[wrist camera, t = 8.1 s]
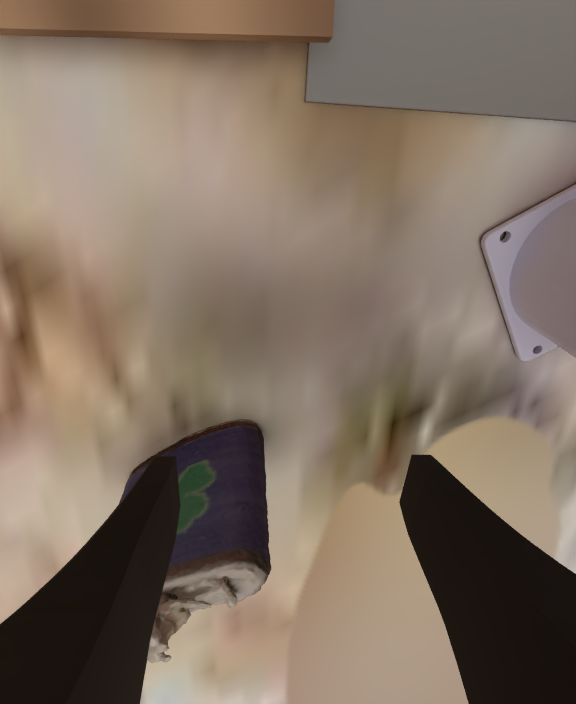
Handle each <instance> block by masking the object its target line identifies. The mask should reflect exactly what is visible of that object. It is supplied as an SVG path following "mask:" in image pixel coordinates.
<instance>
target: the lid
mask: <svg viewBox="0 0 576 704" xmlns="http://www.w3.org/2000/svg"><path fill="white" fill-rule="evenodd" d="M334 5H335V0H0V35H22V36H63V37H104V38H145V39H186V40H227V41H268V42H309V43H329V42H330V40H331V39H332V37H333V27H334Z"/></svg>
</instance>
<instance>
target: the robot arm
mask: <svg viewBox="0 0 576 704" xmlns="http://www.w3.org/2000/svg"><path fill="white" fill-rule="evenodd" d="M505 231H506V236H505V238H504V239H503V240H500V235H501V234H502V233H503V232H505ZM481 247H482V250H483V253H484V256H485V259H486V262H487V265H488V268H489V272H490V275H491V278H492V281H493V284H494V287H495V290H496V294H497V297H498V300H499V303H500V306H501V309H502V312H503V315H504V319H505V322H506V325H507V328H508V331H509V334H510V337H511V341H512V344H513V347H514V350H515V353H516V356H517V357H518V358H519V359H520V360H522V361H530V360H532V359H534V358H536V357H538V356H541V355H543V354H545V353H547V352H549V351H551V350H553V349H555V348H557V347H561V348H562V349H564V350H565V351H567V352H568V353H570V354H571V355H573V356H574V357H576V184H575V185H573V186H571V187H570V188H568V189H566V190H564V191H562V192H560V193H558V194H557V195H555V196H553V197H551V198H549V199H547V200H546V201H544V202H542V203H540V204H538V205H536V206H534V207H533V208H531V209H529V210H527V211H525V212H523V213H522V214H520V215H518V216H516V217H514V218H512V219H510V220H509V221H507V222H505V223H503V224H501V225H499V226H498V227H496V228H494V229H492V230H490V231H488V232H487V233H486V234H485V235H484V236H483V238H482V240H481ZM536 346H538V347H537V348H536V349H535V350H533V349H534V347H536ZM400 506H401V510H402V514H403V518H404V521H405V525H406V528H407V532H408V535H409V537H410V540H411V542H412V545H413V547H414V550H415V552H416V555H417V557H418V560H419V562H420V564H421V567H422V569H423V572H424V574H425V576H426V579H427V581H428V584H429V586H430V588H431V591H432V593H433V595H434V598H435V600H436V602H437V605H438V607H439V610H440V613H441V615H442V618H443V621H444V624H445V626H446V630H447V633H448V636H449V639H450V642H451V646H452V649H453V652H454V655H455V658H456V661H457V665H458V668H459V672H460V675H461V678H462V682H463V685H464V689H465V692H466V696H467V699H468V703H469V704H576V574H575V573H573V572H572V571H570V570H569V569H567V568H566V567H565V566H563V565H562V564H560V563H559V562H557V561H556V560H554V559H553V558H552V557H550V556H549V555H548V554H546V553H545V552H543V551H542V550H541V549H539V548H538V547H537V546H535V545H534V544H532V543H531V542H530V541H529V540H527V539H526V538H525V537H523V536H522V535H521V534H519V533H518V532H517V531H516V530H514V529H513V528H512V527H511V526H509V525H508V524H507V523H506V522H505V521H504V520H502V519H501V518H500V517H499V516H498V515H496V514H495V513H494V512H493V511H492V510H491V509H489V508H488V507H487V506H486V505H485V504H484V503H482V502H481V501H480V500H479V499H478V498H477V497H476V496H475V495H474V494H473V493H471V492H470V491H469V490H468V489H467V488H466V487H465V486H464V485H463V484H462V483H461V482H460V481H459V480H457V479H456V478H455V477H454V476H453V475H452V474H451V473H450V472H449V471H448V470H447V469H446V468H445V467H443V466H442V465H441V464H440V463H439V462H438V461H437V460H436V459H435V458H434V457H433V456H431V455H412V456H411V460H410V464H409V468H408V471H407V475H406V479H405V483H404V487H403V490H402V494H401V498H400ZM179 513H180V494H179V483H178V472H177V460H176V456H155V457H154V458H153V459H151V461H150V462H149V464H148V465H147V467H146V468H145V470H144V471H143V473H142V474H141V476H140V477H139V479H138V480H137V481H136V483H135V484H134V485H133V487H132V488H131V489H130V491H129V492H128V494H127V495H126V496H125V497H124V499H123V500H122V501H121V502H120V504H119V505H118V506H117V508H116V509H115V510H114V511H113V513H112V514H111V515H110V516H109V518H108V519H107V520H106V521H105V522H104V523H103V525H102V526H101V527H100V528H99V529H98V530H97V531H96V533H95V534H94V535H93V536H92V537H91V538H90V540H89V541H88V542H87V543H86V544H85V545H84V546H83V547H82V548H81V549H80V550H79V552H78V553H77V554H76V555H75V556H74V557H73V558H72V559H71V560H70V561H69V562H68V563H67V564H66V565H65V566H64V567H63V568H62V569H61V570H60V571H59V572H58V573H57V574H56V575H55V576H54V577H53V578H52V579H51V580H50V581H49V582H47V583H46V584H45V585H44V586H43V587H42V588H41V589H40V590H39V591H38V592H37V593H36V594H35V595H33V596H32V597H31V598H30V599H29V600H28V601H27V602H26V603H25V604H24V605H22V606H21V607H20V608H19V609H18V610H17V611H16V612H14V613H13V614H12V615H11V616H10V617H8V618H7V619H6V620H5V621H4V622H2V623H1V624H0V704H140V699H141V693H142V686H143V680H144V674H145V669H146V663H147V657H148V651H149V645H150V640H151V635H152V630H153V626H154V621H155V617H156V614H157V610H158V606H159V602H160V598H161V594H162V591H163V587H164V583H165V579H166V575H167V571H168V568H169V564H170V560H171V556H172V552H173V548H174V544H175V540H176V534H177V527H178V520H179Z"/></svg>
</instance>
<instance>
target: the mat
mask: <svg viewBox="0 0 576 704" xmlns="http://www.w3.org/2000/svg"><path fill="white" fill-rule="evenodd" d="M305 102H311V103H325V104H339V105H353V106H367V107H380V108H394V109H408V110H422V111H436V112H450V113H463V114H477V115H491V116H505V117H519V118H532V119H546V120H560V121H574V122H576V0H335V5H334V27H333V37H332V39H331V40H330V42H329V43H309V42H308V56H307V72H306V88H305Z"/></svg>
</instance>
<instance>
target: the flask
mask: <svg viewBox="0 0 576 704" xmlns="http://www.w3.org/2000/svg"><path fill="white" fill-rule="evenodd" d="M155 456H176V460H177V472H178V483H179V494H180V513H179V520H178V527H177V534H176V540H175V544H174V548H173V552H172V556H171V560H170V564H169V568H168V571H167V575H166V579H165V583H164V587H163V591H162V594H161V598H160V602H159V606H158V610H157V614H156V617H155V621H154V626H153V630H152V635H151V640H150V645H149V651H148V657H147V660H148V661H149V662H151V663H154V662H158V661H163V662H168V661H169V660H170V659H171V656H170V655H165V654H164V651H166V650H167V649H170V648H169V647H168V640H169V638H170V637H171V635H173V634H174V633H176V632H177V631H178V630H179V628H180V627H181V626H182V625H183V624H185V623H186V622H187V620H188V618H189V617H190V615H191V614H190V612H193V611H196V610H198V609H205V608H210V607H211V605H216V604H223V603H226V604H227V605H228V606H229V607H230V608H232V607H234V606H235V605H236V604H237V602H239V601H241V600H244V599H245V598H246V597H247V596H250V595H253V594H255V593H256V592H258V591H259V590H260V589H261V586H262V585H263V584H264V583H265V581H266V580H267V577H268V575H269V573H270V571H271V564H270V554H269V547H268V543H269V532H268V523H267V522H268V519H267V513H268V511H267V500H266V473H265V457H264V438H263V435H262V432H261V430H260V429H259V427H258V426H257V424H256V423H254V422H253V421H251V420H237V421H230V422H225V423H224V424H220V425H218V426H215V427H210V428H207V429H206V430H204V431H199V432H198V433H194V434H192V435H191V436H189V437H187V438H183V439H182V440H181V441H180V442H179V443H177V444H175V445H171V446H170V447H168V448H167V449H165V450H163V451H162V452H159V453H158V454H157V455H155ZM155 456H152V457H151V458H149V459H148V460H146V461H145V462H143V463H141V464H140V465H139V466H138V467H137V468H136V469H135V470H134V471H133V472H132V474H131V475H130V477H129V479H128V481H127V483H126V486H125V489H124V493H123V495H122V497H121V500H120V502H121V501H122V500H123V499H124V497H125V496H126V495H127V494H128V492H129V491H130V489H131V488H132V487H133V485H134V484H135V483H136V481H137V480H138V479H139V477H140V476H141V474H142V473H143V471H144V470H145V468H146V467H147V465H148V464H149V462H150V461H151V459H153V458H154V457H155ZM119 504H120V503H119Z"/></svg>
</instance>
